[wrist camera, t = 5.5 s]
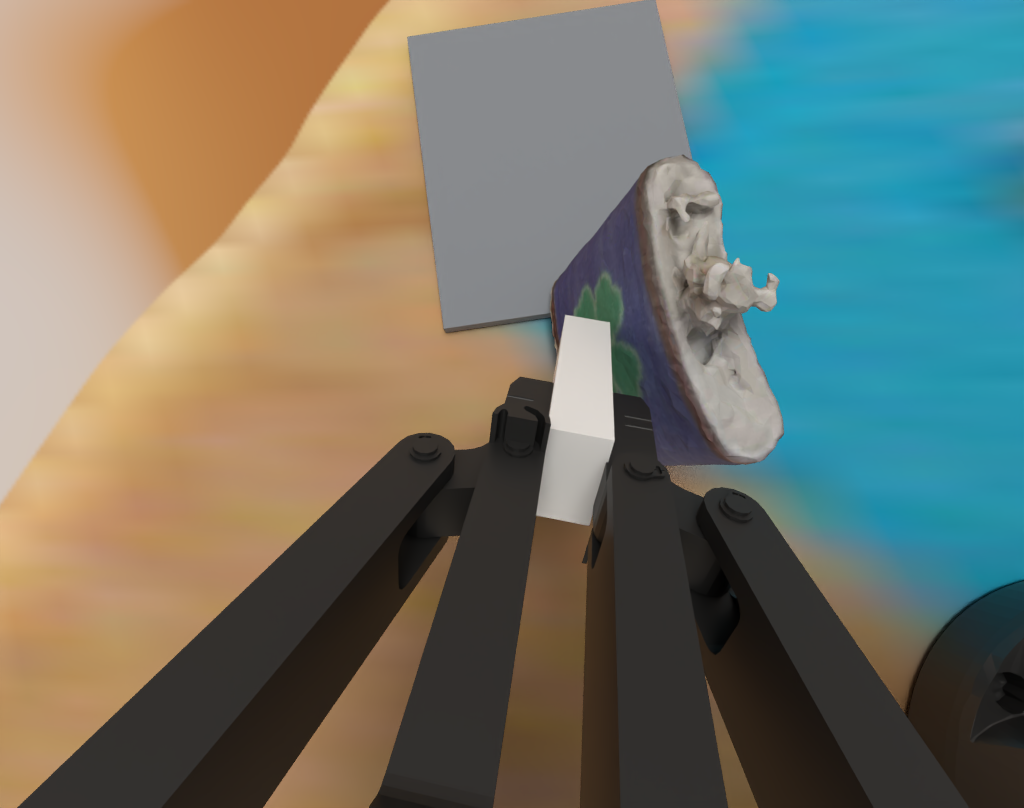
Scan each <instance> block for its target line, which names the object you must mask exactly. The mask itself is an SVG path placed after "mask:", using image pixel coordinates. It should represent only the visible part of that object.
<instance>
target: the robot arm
mask: <svg viewBox="0 0 1024 808" xmlns="http://www.w3.org/2000/svg"><path fill="white" fill-rule="evenodd" d="M536 515H537V516H542V517H547V518H552V519H557V520H562V521H567V522H572V523H577V524H582V525H587V526H589V525H590V522H591V518H592V515H593V528H592V531H591V535H590V538H589V541H588V545H587V548H586V551H585V554H584V558H583V561H582V563H585V564H587V561H588V565H587V597H586V630H585V662H584V694H583V726H582V758H581V790H580V808H728V804H727V799H726V793H725V787H724V782H723V776H722V770H721V765H720V759H719V753H718V748H717V742H716V736H715V731H714V725H713V719H712V714H711V708H710V702H709V696H708V691H707V685H706V679H705V676H706V678H707V681H708V683H709V686H710V688H711V691H712V693H713V696H714V698H715V701H716V703H717V706H718V708H719V711H720V713H721V715H722V718H723V720H724V723H725V725H726V728H727V730H728V733H729V735H730V738H731V740H732V743H733V745H734V748H735V750H736V753H737V755H738V758H739V760H740V763H741V765H742V768H743V770H744V773H745V775H746V778H747V780H748V783H749V785H750V788H751V790H752V793H753V795H754V798H755V800H756V802H757V805H758V807H759V808H1024V581H1022V582H1018V583H1015V584H1012V585H1009V586H1007V587H1004V588H1002V589H1000V590H997V591H995V592H993V593H991V594H989V595H987V596H986V597H984V598H982V599H980V600H979V601H978V602H976V603H975V604H973V605H972V606H970V607H969V608H968V609H967V610H965V611H964V612H963V613H962V614H961V615H959V616H958V617H957V618H956V619H955V620H954V621H953V622H952V623H951V624H950V625H949V627H948V628H947V629H946V630H945V631H944V632H943V634H942V635H941V636H940V638H939V639H938V640H937V642H936V643H935V645H934V646H933V648H932V650H931V651H930V653H929V655H928V656H927V658H926V660H925V662H924V664H923V667H922V669H921V671H920V674H919V676H918V679H917V681H916V684H915V688H914V691H913V694H912V698H911V703H910V708H909V713H908V718H907V716H906V715H905V713H904V712H903V711H902V709H901V708H900V706H899V705H898V703H897V702H896V700H895V699H894V697H893V696H892V695H891V693H890V692H889V690H888V689H887V687H886V686H885V684H884V683H883V681H882V680H881V679H880V677H879V676H878V674H877V673H876V671H875V670H874V668H873V667H872V666H871V664H870V663H869V661H868V660H867V658H866V657H865V655H864V654H863V652H862V651H861V650H860V648H859V647H858V645H857V644H856V642H855V641H854V639H853V638H852V636H851V635H850V634H849V632H848V631H847V629H846V628H845V626H844V625H843V623H842V622H841V621H840V619H839V618H838V616H837V615H836V613H835V612H834V610H833V609H832V607H831V606H830V605H829V603H828V602H827V600H826V599H825V597H824V596H823V594H822V593H821V592H820V590H819V589H818V587H817V586H816V584H815V583H814V581H813V580H812V578H811V577H810V576H809V574H808V573H807V571H806V570H805V568H804V567H803V565H802V564H801V562H800V561H799V560H798V558H797V557H796V555H795V554H794V552H793V551H792V549H791V548H790V547H789V545H788V544H787V542H786V541H785V539H784V538H783V536H782V535H781V533H780V532H779V531H778V529H777V528H776V526H775V525H774V523H773V522H772V520H771V519H770V517H769V516H768V515H767V513H766V512H765V510H764V509H763V508H762V507H761V506H760V505H759V504H758V503H757V502H756V501H755V500H754V499H752V498H751V497H749V496H748V495H746V494H744V493H741V492H739V491H737V490H734V489H729V488H723V487H721V488H714V489H711V490H710V491H708V492H707V493H706V494H705V496H704V498H703V497H701V496H699V495H696V494H694V493H691V492H689V491H687V490H684V489H682V488H680V487H678V486H677V485H675V484H674V483H673V482H671V480H670V475H669V473H668V471H667V469H666V468H665V467H664V466H663V465H662V464H661V463H660V462H659V461H658V458H657V452H656V445H655V439H654V432H653V426H652V422H651V413H650V408H649V407H648V406H647V404H646V403H645V402H644V400H643V399H642V398H641V397H636V396H631V395H625V394H620V393H614V392H613V387H612V362H611V337H610V322H604V321H599V320H593V319H587V318H581V317H575V316H569V315H565V319H564V324H563V330H562V335H561V340H560V345H559V351H558V356H557V361H556V366H555V371H554V377H553V382H546V381H541V380H535V379H530V378H524V377H519V378H518V379H517V380H516V381H514V382H513V383H512V384H511V385H510V388H509V391H508V394H507V398H506V401H505V403H504V404H502V405H501V406H499V407H497V408H496V409H495V411H494V412H493V414H492V423H491V432H490V440H489V443H487V444H486V445H484V446H482V447H478V448H475V449H467V450H454V446H453V445H452V443H451V442H450V441H449V440H448V439H446V438H444V437H442V436H440V435H436V434H432V433H417V434H414V435H410V436H407V437H406V438H404V439H403V440H401V441H400V442H399V443H398V444H396V445H395V446H394V447H393V448H392V449H391V450H390V451H389V452H388V453H387V454H386V455H385V456H384V457H383V458H382V459H381V460H380V461H379V462H378V463H377V464H376V465H375V466H373V467H372V468H371V469H370V470H369V471H368V472H367V473H366V474H365V475H364V476H363V477H362V478H361V479H360V480H359V481H358V482H357V483H356V484H355V485H354V486H353V487H352V488H351V489H349V490H348V491H347V492H346V493H345V494H344V495H343V496H342V497H341V498H340V499H339V500H338V501H337V502H336V503H335V504H334V505H333V506H332V507H331V508H330V509H329V510H328V511H327V512H325V513H324V514H323V515H322V516H321V517H320V518H319V519H318V520H317V521H316V522H315V523H314V524H313V525H312V526H311V527H310V528H309V529H308V530H307V531H306V532H305V533H304V534H302V535H301V536H300V537H299V538H298V539H297V540H296V541H295V542H294V543H293V544H292V545H291V546H290V547H289V548H288V549H287V550H286V551H285V552H284V553H283V554H282V555H281V556H280V557H278V558H277V559H276V560H275V561H274V562H273V563H272V564H271V565H270V566H269V567H268V568H267V569H266V570H265V571H264V572H263V573H262V574H261V575H260V576H259V577H258V578H257V579H256V580H254V581H253V582H252V583H251V584H250V585H249V586H248V587H247V588H246V589H245V590H244V591H243V592H242V593H241V594H240V595H239V596H238V597H237V598H236V599H235V600H234V601H233V602H231V603H230V604H229V605H228V606H227V607H226V608H225V609H224V610H223V611H222V612H221V613H220V614H219V615H218V616H217V617H216V618H215V619H214V620H213V621H212V622H211V623H210V624H209V625H207V626H206V627H205V628H204V629H203V630H202V631H201V632H200V633H199V634H198V635H197V636H196V637H195V638H194V639H193V640H192V641H191V642H190V643H189V644H188V645H187V646H186V647H184V648H183V649H182V650H181V651H180V652H179V653H178V654H177V655H176V656H175V657H174V658H173V659H172V660H171V661H170V662H169V663H168V664H167V665H166V666H165V667H164V668H163V669H162V670H160V671H159V672H158V673H157V674H156V675H155V676H154V677H153V678H152V679H151V680H150V681H149V682H148V683H147V684H146V685H145V686H144V687H143V688H142V689H141V690H140V691H139V692H138V693H136V694H135V695H134V696H133V697H132V698H131V699H130V700H129V701H128V702H127V703H126V704H125V705H124V706H123V707H122V708H121V709H120V710H119V711H118V712H117V713H116V714H115V715H113V716H112V717H111V718H110V719H109V720H108V721H107V722H106V723H105V724H104V725H103V726H102V727H101V728H100V729H99V730H98V731H97V732H96V733H95V734H94V735H93V736H92V737H91V738H89V739H88V740H87V741H86V742H85V743H84V744H83V745H82V746H81V747H80V748H79V749H78V750H77V751H76V752H75V753H74V754H73V755H72V756H71V757H70V758H69V759H68V760H67V761H65V762H64V763H63V764H62V765H61V766H60V767H59V768H58V769H57V770H56V771H55V772H54V773H53V774H52V775H51V776H50V777H49V778H48V779H47V780H46V781H45V782H44V783H42V784H41V785H40V786H39V787H38V788H37V789H36V790H35V791H34V792H33V793H32V794H31V795H30V796H29V797H28V798H27V799H26V800H25V801H24V802H23V803H22V804H21V805H20V806H18V807H17V808H263V807H264V805H265V804H266V802H267V801H268V799H269V798H270V797H271V795H272V794H273V792H274V791H275V789H276V788H277V786H278V785H279V784H280V782H281V781H282V779H283V778H284V776H285V775H286V773H287V772H288V770H289V769H290V768H291V766H292V765H293V763H294V762H295V760H296V759H297V757H298V756H299V755H300V753H301V752H302V750H303V749H304V747H305V746H306V744H307V743H308V742H309V740H310V739H311V737H312V736H313V734H314V733H315V731H316V730H317V729H318V727H319V726H320V724H321V723H322V721H323V720H324V718H325V717H326V716H327V714H328V713H329V711H330V710H331V708H332V707H333V705H334V704H335V702H336V701H337V700H338V698H339V697H340V695H341V694H342V692H343V691H344V689H345V688H346V687H347V685H348V684H349V682H350V681H351V679H352V678H353V676H354V675H355V674H356V672H357V671H358V669H359V668H360V666H361V665H362V663H363V662H364V661H365V659H366V658H367V656H368V655H369V653H370V652H371V650H372V649H373V648H374V646H375V645H376V643H377V642H378V640H379V639H380V637H381V636H382V634H383V633H384V632H385V630H386V629H387V627H388V626H389V624H390V623H391V621H392V620H393V619H394V617H395V616H396V614H397V613H398V611H399V610H400V608H401V607H402V606H403V604H404V603H405V601H406V600H407V598H408V597H409V595H410V594H411V593H412V591H413V590H414V588H415V587H416V585H417V584H418V582H419V581H420V580H421V578H422V577H423V575H424V574H425V572H426V571H427V569H428V568H429V566H430V565H431V564H432V562H433V561H434V559H435V558H436V556H437V555H438V553H439V552H440V551H441V549H442V548H443V546H444V545H445V543H446V542H447V539H448V537H449V536H459V535H460V537H459V540H458V544H457V547H456V550H455V553H454V556H453V560H452V563H451V566H450V569H449V572H448V575H447V579H446V582H445V585H444V588H443V591H442V595H441V598H440V601H439V604H438V607H437V611H436V614H435V617H434V620H433V623H432V627H431V630H430V633H429V636H428V639H427V643H426V646H425V649H424V652H423V655H422V659H421V662H420V665H419V668H418V671H417V675H416V678H415V681H414V684H413V687H412V690H411V694H410V697H409V700H408V703H407V706H406V710H405V713H404V716H403V719H402V722H401V726H400V729H399V732H398V735H397V738H396V742H395V745H394V748H393V751H392V754H391V758H390V761H389V764H388V767H387V770H386V773H385V776H384V779H383V782H382V785H381V787H380V790H379V792H378V794H377V796H376V797H375V799H374V800H373V802H372V803H371V805H370V806H369V808H493V802H494V795H495V789H496V782H497V775H498V768H499V762H500V755H501V748H502V741H503V735H504V728H505V721H506V715H507V708H508V701H509V694H510V688H511V681H512V674H513V667H514V661H515V654H516V647H517V640H518V634H519V627H520V620H521V614H522V607H523V600H524V593H525V587H526V580H527V573H528V566H529V560H530V553H531V546H532V539H533V533H534V526H535V519H536ZM704 673H705V674H704Z"/></svg>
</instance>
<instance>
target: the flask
mask: <svg viewBox="0 0 1024 808" xmlns="http://www.w3.org/2000/svg"><path fill="white" fill-rule="evenodd" d="M722 205H723V204H722V201H721V197H720V195H719V194H718V190H717V186H716V183H715V182H714V180H713V179H712V177H711V175H710V174H709V172H706V171H704V170H702V169H701V168H700V166H699V165H698V163H697V162H695V161H693V160H691V159H689V158H688V157H686V156H685V155H684V154H683V155H678V156H673V157H668V158H667V157H666V158H664V159H661V160H658V161H657V162H655V163H653V164H651V165H649V166H648V167H647V168H646V169H645V170H644V171H643V172H642V173H641V174H640V177H639V178H638V179H637V180H636V182H635V183H634V185H633V186H632V187H631V189H630V190H629V191H628V193H627V194H626V195H625V196H624V198H623V199H622V200H621V201H620V203H619V204H618V205H617V206H616V208H615V209H614V210H613V211H612V212H611V213H610V215H609V216H608V217H607V219H606V220H605V221H604V223H603V224H602V225H601V227H600V228H599V229H598V231H597V232H596V233H595V235H594V236H593V237H592V238H591V239H590V240H589V241H588V242H587V243H586V244H585V245H584V246H583V248H582V249H581V250H580V251H579V252H578V254H577V255H576V256H575V257H574V259H573V260H572V261H571V263H570V264H569V265H568V267H567V268H566V270H565V271H564V272H563V273H562V274H561V275H560V276H559V278H558V279H557V280H556V281H555V282H554V284H553V286H552V289H551V292H550V294H551V301H550V312H551V319H552V329H553V330H552V334H553V337H555V339H554V340H555V348H556V353H557V355H556V356H558V351H559V345H560V340H561V335H562V330H563V324H564V319H565V315H569V316H575V317H581V318H587V319H593V320H599V321H604V322H610V337H611V362H612V387H613V392H614V393H620V394H625V395H631V396H636V397H641V398H642V399H643V400H644V402H645V403H646V404H647V406H648V407H649V408H650V413H651V422H652V426H653V432H654V439H655V445H656V452H657V458H658V461H659V462H660V463H661V464H662V465H663V466H666V465H668V466H675V465H711V464H717V465H739V464H745V465H746V464H751V463H756V462H760V461H762V460H764V459H765V458H766V457H767V456H768V455H769V453H770V452H771V451H772V450H773V449H774V448H775V446H776V444H777V442H778V440H779V439H780V438H781V437H782V436H783V434H784V428H783V420H782V415H781V412H780V409H779V405H778V402H777V400H776V398H775V396H774V395H773V393H772V391H771V389H770V387H769V384H768V381H767V378H766V375H765V373H764V371H763V369H762V368H761V366H760V364H759V363H758V360H757V357H756V354H755V351H754V349H753V346H752V344H751V339H750V337H749V335H748V334H747V331H746V327H745V324H744V321H743V318H742V314H741V313H745V312H747V311H748V309H749V308H750V307H751V306H754V307H757V308H758V309H760V310H761V311H765V312H768V311H771V310H772V309H773V307H774V306H775V305H776V303H777V300H776V289H777V286H778V284H779V280H778V278H777V277H776V276H775V275H773V274H772V273H768V277H767V284H766V287H763V288H761V289H759V288H757V287H754V286H753V283H752V269H751V267H749V266H745V265H742V264H741V263H740V261H739V258H737V259H736V260H735V261H734V263H733V264H731V263H729V262H728V261H727V253H726V252H725V249H724V245H723V239H722V232H723V224H722V222H721V217H722Z"/></svg>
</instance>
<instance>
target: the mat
mask: <svg viewBox="0 0 1024 808" xmlns="http://www.w3.org/2000/svg"><path fill="white" fill-rule="evenodd" d="M407 39H408V47H409V55H410V63H411V71H412V79H413V87H414V95H415V103H416V111H417V119H418V127H419V135H420V143H421V151H422V159H423V167H424V175H425V183H426V191H427V199H428V207H429V215H430V223H431V231H432V239H433V247H434V255H435V263H436V271H437V279H438V287H439V295H440V303H441V311H442V319H443V327H444V330H445V332H446V333H448V332H455V331H461V330H468V329H475V328H482V327H488V326H495V325H502V324H509V323H515V322H522V321H529V320H535V319H542V318H549V317H551V312H550V301H551V294H550V292H551V289H552V286H553V284H554V282H555V281H556V280H557V279H558V278H559V276H560V275H561V274H562V273H563V272H564V271H565V270H566V268H567V267H568V265H569V264H570V263H571V261H572V260H573V259H574V257H575V256H576V255H577V254H578V252H579V251H580V250H581V249H582V248H583V246H584V245H585V244H586V243H587V242H588V241H589V240H590V239H591V238H592V237H593V236H594V235H595V233H596V232H597V231H598V229H599V228H600V227H601V225H602V224H603V223H604V221H605V220H606V219H607V217H608V216H609V215H610V213H611V212H612V211H613V210H614V209H615V208H616V206H617V205H618V204H619V203H620V201H621V200H622V199H623V198H624V196H625V195H626V194H627V193H628V191H629V190H630V189H631V187H632V186H633V185H634V183H635V182H636V180H637V179H638V178H639V177H640V174H641V173H642V172H643V171H644V170H645V169H646V168H647V167H648V166H649V165H651V164H653V163H655V162H657V161H658V160H661V159H664V158H666V157H667V158H668V157H673V156H678V155H683V154H684V155H685V156H686V157H688V158H689V159H691V160H692V156H691V152H690V148H689V143H688V139H687V135H686V130H685V126H684V122H683V117H682V113H681V109H680V104H679V100H678V96H677V91H676V87H675V83H674V78H673V74H672V70H671V65H670V61H669V57H668V52H667V48H666V44H665V39H664V35H663V31H662V26H661V22H660V18H659V13H658V9H657V5H656V0H644V1H638V2H631V3H625V4H618V5H612V6H605V7H599V8H592V9H586V10H579V11H573V12H566V13H560V14H553V15H547V16H540V17H533V18H527V19H520V20H514V21H507V22H501V23H494V24H488V25H481V26H475V27H468V28H462V29H455V30H449V31H442V32H436V33H429V34H423V35H416V36H410V37H407Z"/></svg>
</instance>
